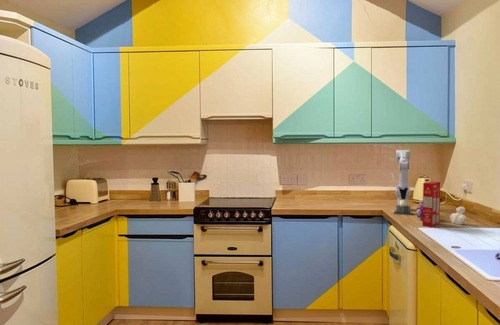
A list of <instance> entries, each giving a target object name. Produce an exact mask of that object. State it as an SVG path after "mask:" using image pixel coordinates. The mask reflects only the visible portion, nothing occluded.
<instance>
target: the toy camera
mask: <svg viewBox="0 0 500 325" xmlns="http://www.w3.org/2000/svg"><path fill="white" fill-rule="evenodd" d="M418 206H419V207H416V209H415V216H416V217H417V218H419V219H421V220H423V203H421V204H419V205H418Z"/></svg>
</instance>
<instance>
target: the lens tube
mask: <svg viewBox="0 0 500 325" xmlns="http://www.w3.org/2000/svg"><path fill="white" fill-rule="evenodd" d="M395 207H396V209H395V210H394V212H393V215H403V216H404V215H406V216H411V215H412V214H413V210H411V205H409V204H408V205H407V206H400V205H396V206H395Z"/></svg>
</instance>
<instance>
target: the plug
mask: <svg viewBox="0 0 500 325" xmlns="http://www.w3.org/2000/svg"><path fill="white" fill-rule="evenodd" d="M400 206H407V201H406V200H400Z"/></svg>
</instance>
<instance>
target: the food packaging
mask: <svg viewBox="0 0 500 325" xmlns="http://www.w3.org/2000/svg"><path fill="white" fill-rule="evenodd" d="M422 187H423V188H422V204H423V219H422V225H421V226H423V227H429V228H432V227H435V226H438V225H439V224H440V218H441V217H440V215H441V213H440V211H441V208H440V207H441V181H426V182H424V183H423V186H422Z"/></svg>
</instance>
